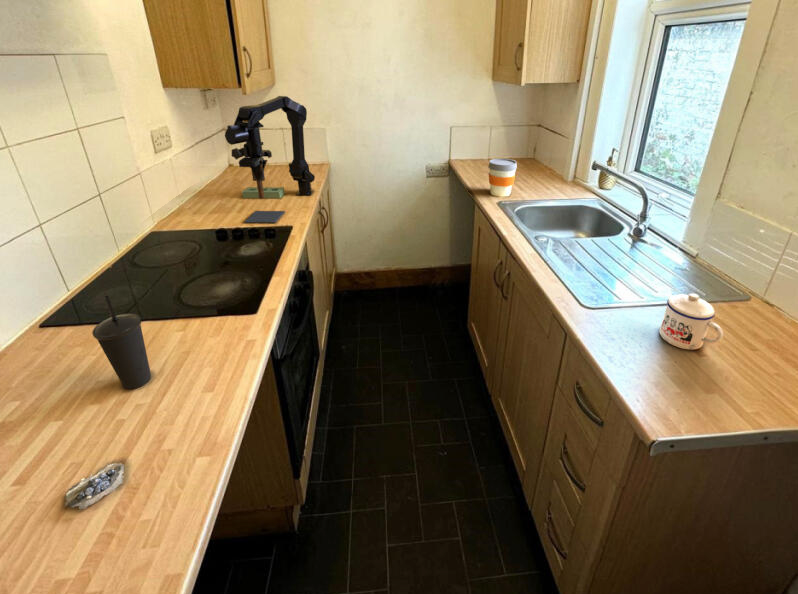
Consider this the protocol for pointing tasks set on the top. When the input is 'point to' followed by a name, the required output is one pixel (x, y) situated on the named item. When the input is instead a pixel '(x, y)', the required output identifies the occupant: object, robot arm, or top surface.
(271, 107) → the robot arm
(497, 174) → the reusable coffee cup
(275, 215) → the mat
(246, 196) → the rack
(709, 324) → the teacup with lid
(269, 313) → the top surface
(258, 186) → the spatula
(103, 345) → the drinking cup
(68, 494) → the blueberries
